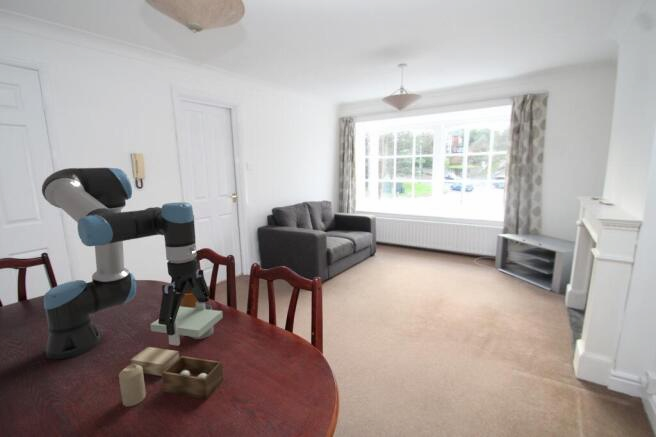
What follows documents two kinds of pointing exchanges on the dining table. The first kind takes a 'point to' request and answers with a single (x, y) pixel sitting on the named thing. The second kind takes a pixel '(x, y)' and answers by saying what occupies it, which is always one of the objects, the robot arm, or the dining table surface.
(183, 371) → the ball
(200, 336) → the cup
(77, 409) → the dining table surface
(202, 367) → the walnut box
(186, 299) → the mug
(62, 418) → the dining table surface
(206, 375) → the ball
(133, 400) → the candle
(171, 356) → the block
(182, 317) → the lid
